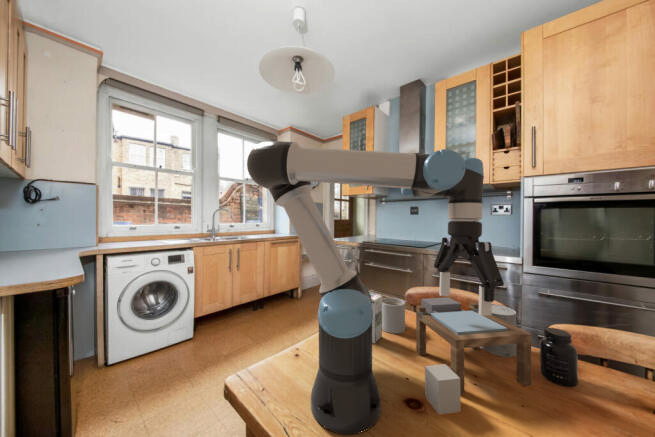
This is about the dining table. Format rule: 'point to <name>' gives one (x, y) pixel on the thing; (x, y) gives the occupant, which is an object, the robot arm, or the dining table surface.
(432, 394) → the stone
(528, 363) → the hatch frame
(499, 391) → the dining table surface
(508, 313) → the short grey cylinder
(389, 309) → the mug
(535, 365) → the dining table surface
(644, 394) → the dining table surface
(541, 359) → the supplement bottle
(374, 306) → the syrup box
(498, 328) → the trapdoor
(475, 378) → the dining table surface
